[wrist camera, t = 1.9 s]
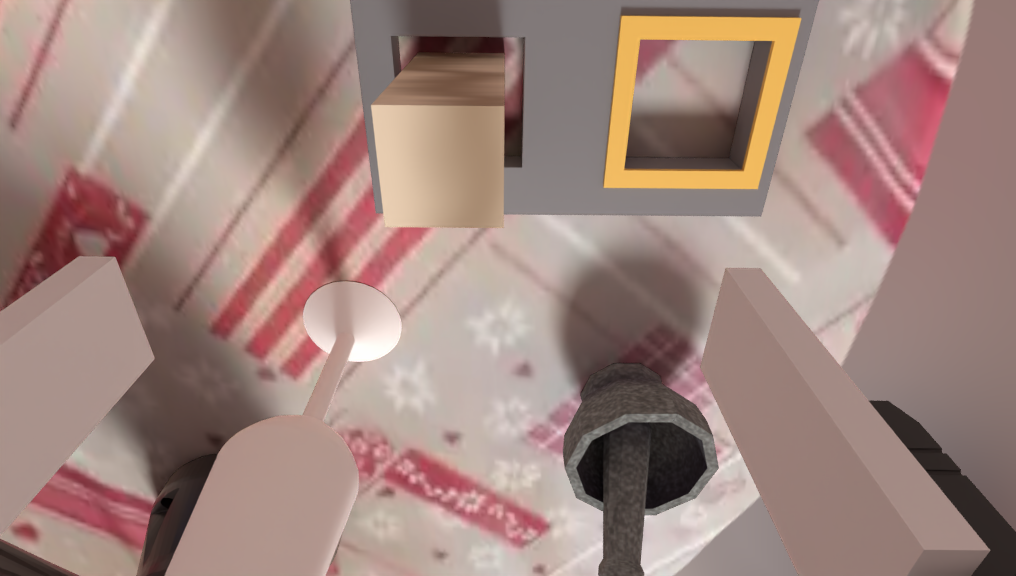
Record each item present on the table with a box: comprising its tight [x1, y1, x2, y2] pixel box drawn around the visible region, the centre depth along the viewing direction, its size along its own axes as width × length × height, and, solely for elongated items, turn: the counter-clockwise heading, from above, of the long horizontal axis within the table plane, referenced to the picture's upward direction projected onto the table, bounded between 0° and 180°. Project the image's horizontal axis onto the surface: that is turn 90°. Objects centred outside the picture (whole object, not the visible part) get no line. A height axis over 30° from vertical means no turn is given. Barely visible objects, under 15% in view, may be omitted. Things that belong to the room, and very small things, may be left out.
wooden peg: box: [371, 52, 505, 228], centre depth 25 cm, size 4×4×12 cm
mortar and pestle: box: [563, 363, 719, 576], centre depth 36 cm, size 11×9×12 cm
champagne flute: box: [165, 281, 402, 576], centre depth 27 cm, size 7×7×24 cm
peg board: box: [350, 0, 819, 216], centre depth 29 cm, size 22×12×2 cm, turn 89°
